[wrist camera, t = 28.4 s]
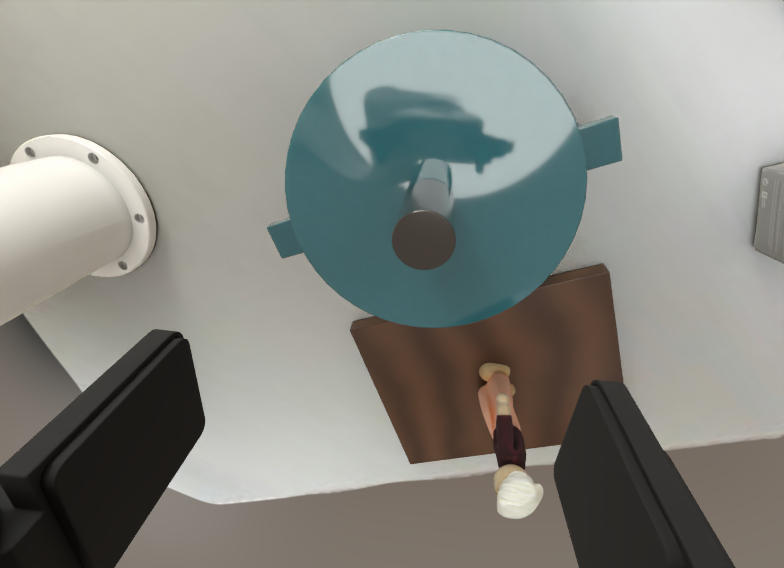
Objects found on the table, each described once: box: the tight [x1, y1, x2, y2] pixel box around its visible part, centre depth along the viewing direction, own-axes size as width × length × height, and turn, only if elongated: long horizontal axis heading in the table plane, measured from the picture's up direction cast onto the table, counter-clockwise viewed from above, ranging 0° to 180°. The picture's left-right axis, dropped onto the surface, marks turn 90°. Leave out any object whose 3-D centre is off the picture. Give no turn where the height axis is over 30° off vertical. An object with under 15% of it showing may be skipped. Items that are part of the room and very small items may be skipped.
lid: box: [285, 30, 587, 328], centre depth 22 cm, size 18×18×7 cm
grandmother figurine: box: [478, 363, 543, 519], centre depth 32 cm, size 8×4×13 cm, turn 27°
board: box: [350, 264, 623, 464], centre depth 39 cm, size 22×18×2 cm
